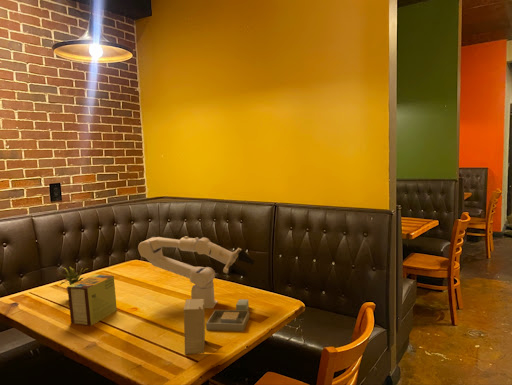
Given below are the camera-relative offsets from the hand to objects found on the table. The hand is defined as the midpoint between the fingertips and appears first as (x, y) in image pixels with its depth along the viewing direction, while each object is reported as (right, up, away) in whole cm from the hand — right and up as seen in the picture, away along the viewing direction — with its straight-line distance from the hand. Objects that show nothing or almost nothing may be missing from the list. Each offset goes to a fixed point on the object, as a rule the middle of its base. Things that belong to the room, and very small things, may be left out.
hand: (250, 268), depth 155 cm
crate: (-8, -19, -12) cm, 24 cm away
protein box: (-65, -20, +1) cm, 68 cm away
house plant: (-84, -19, +21) cm, 88 cm away
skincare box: (-18, -21, -29) cm, 40 cm away
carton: (-3, -18, -1) cm, 18 cm away
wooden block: (-7, -18, -13) cm, 24 cm away
